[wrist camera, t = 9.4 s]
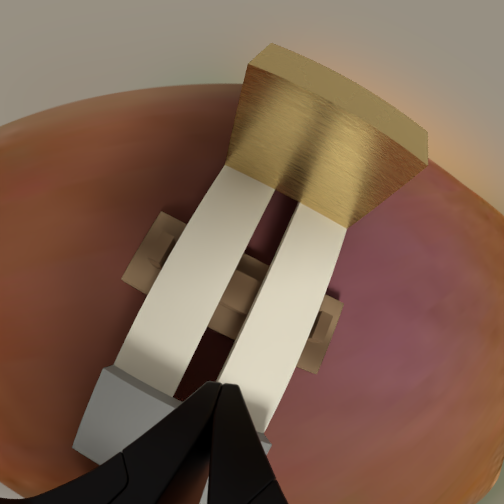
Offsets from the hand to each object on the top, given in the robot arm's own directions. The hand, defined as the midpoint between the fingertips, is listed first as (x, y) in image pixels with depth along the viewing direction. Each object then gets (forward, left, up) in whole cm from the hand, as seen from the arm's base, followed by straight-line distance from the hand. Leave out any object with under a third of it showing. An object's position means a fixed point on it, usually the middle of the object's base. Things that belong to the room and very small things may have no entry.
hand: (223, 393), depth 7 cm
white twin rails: (+3, -6, -10) cm, 12 cm away
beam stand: (+3, -4, -13) cm, 14 cm away
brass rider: (+8, -14, -9) cm, 19 cm away
